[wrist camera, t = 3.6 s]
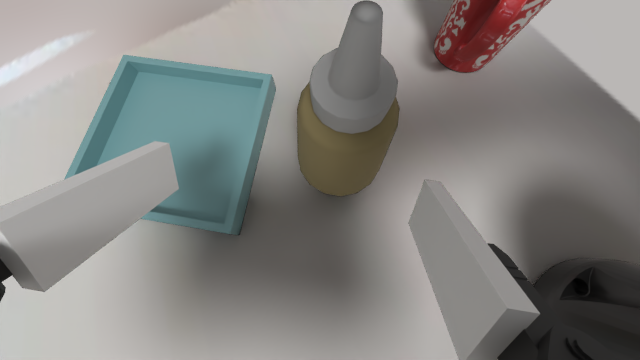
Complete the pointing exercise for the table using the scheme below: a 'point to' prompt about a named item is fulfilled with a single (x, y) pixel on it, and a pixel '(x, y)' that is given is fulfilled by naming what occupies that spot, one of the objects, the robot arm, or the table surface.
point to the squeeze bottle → (348, 108)
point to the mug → (481, 30)
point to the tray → (186, 134)
